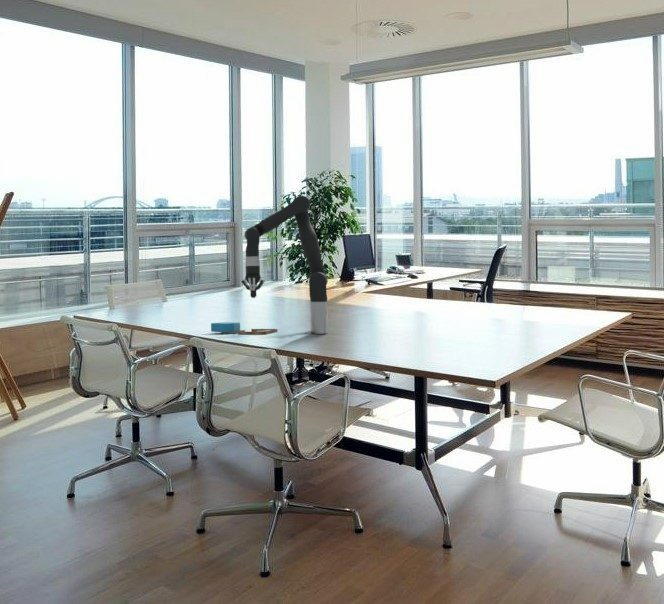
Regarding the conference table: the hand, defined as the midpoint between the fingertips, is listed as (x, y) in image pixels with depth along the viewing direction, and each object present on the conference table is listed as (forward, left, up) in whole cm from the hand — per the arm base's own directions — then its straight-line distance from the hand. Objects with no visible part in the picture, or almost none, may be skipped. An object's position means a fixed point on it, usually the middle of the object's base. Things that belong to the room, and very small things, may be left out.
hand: (253, 297), depth 392 cm
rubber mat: (+12, 0, -19) cm, 22 cm away
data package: (+21, -1, -16) cm, 26 cm away
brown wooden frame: (-2, 0, -19) cm, 19 cm away
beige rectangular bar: (-5, -4, -20) cm, 21 cm away
